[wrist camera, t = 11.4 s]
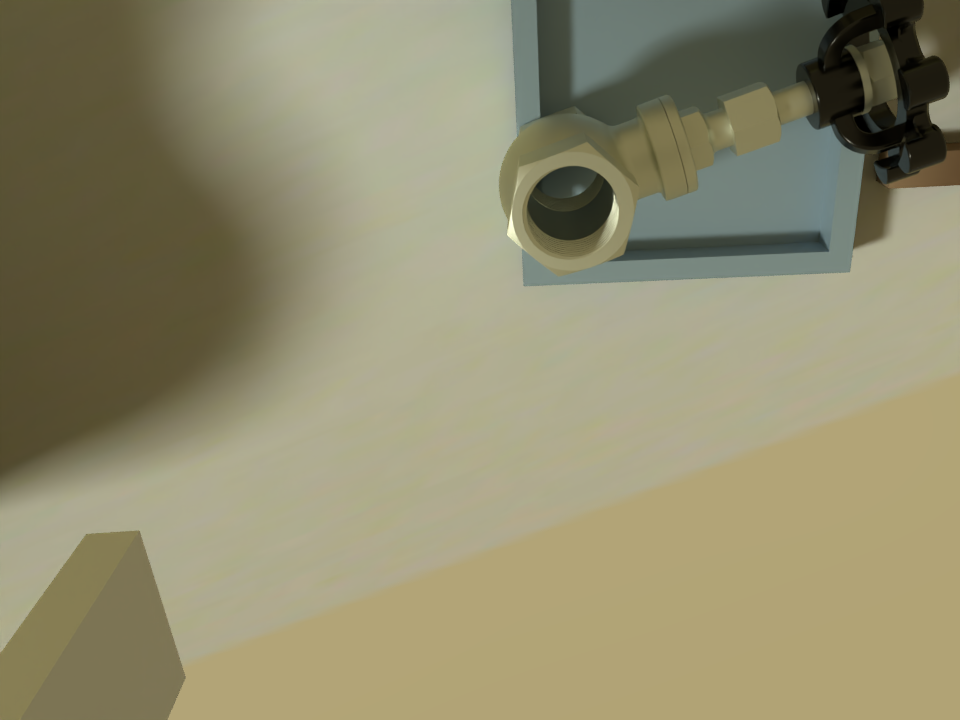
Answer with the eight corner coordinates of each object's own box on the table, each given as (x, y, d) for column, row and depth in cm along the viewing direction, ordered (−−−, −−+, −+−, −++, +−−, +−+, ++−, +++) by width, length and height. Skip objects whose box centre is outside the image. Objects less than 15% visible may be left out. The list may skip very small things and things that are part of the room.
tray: (523, 270, 33) (523, 286, 31) (509, -67, 28) (507, -69, 26) (833, 256, 32) (849, 272, 30) (873, -93, 27) (895, -96, 26)
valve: (536, 268, 31) (875, 151, 29) (540, 341, 25) (968, 201, 23) (470, 90, 28) (837, -54, 26) (456, 124, 22) (929, -59, 20)
